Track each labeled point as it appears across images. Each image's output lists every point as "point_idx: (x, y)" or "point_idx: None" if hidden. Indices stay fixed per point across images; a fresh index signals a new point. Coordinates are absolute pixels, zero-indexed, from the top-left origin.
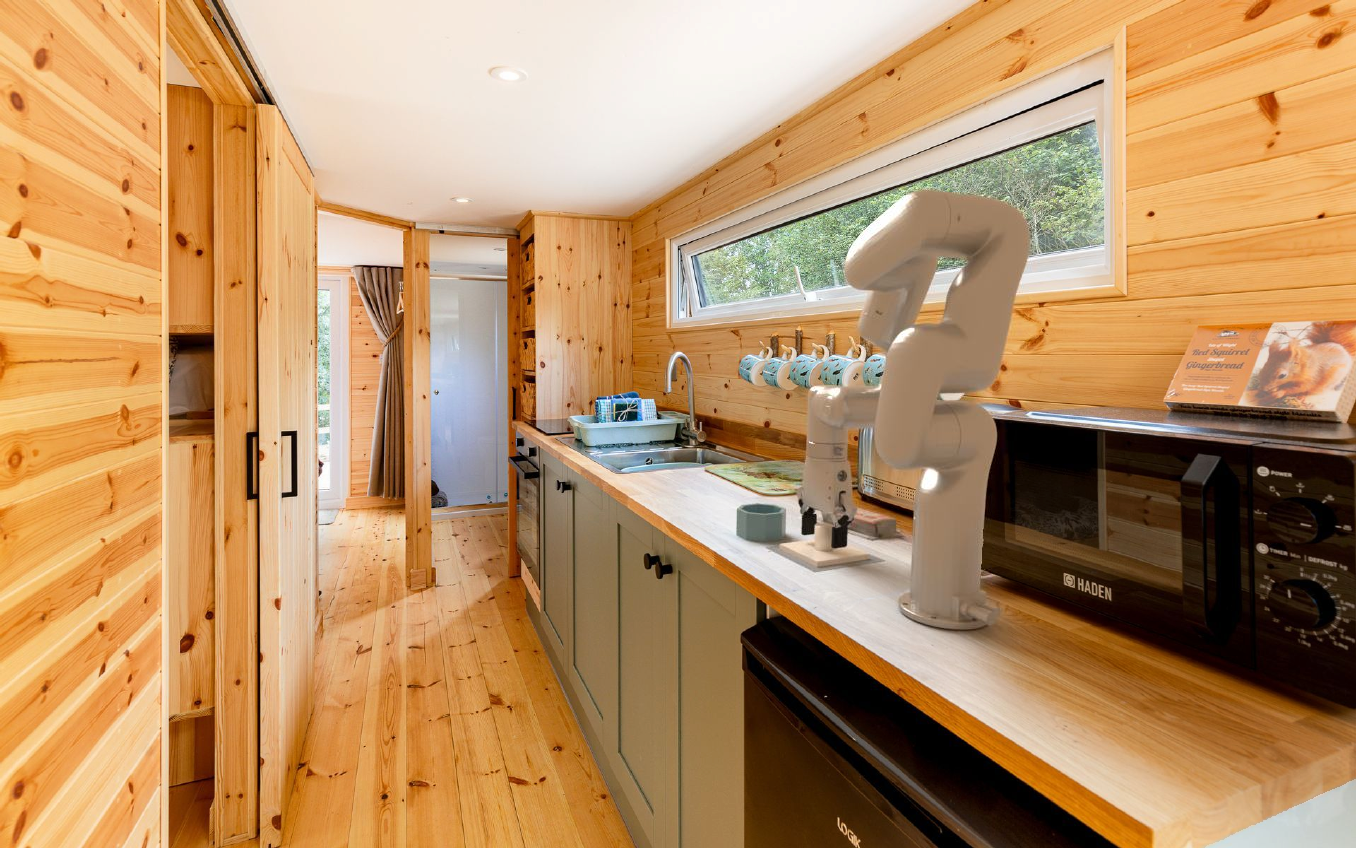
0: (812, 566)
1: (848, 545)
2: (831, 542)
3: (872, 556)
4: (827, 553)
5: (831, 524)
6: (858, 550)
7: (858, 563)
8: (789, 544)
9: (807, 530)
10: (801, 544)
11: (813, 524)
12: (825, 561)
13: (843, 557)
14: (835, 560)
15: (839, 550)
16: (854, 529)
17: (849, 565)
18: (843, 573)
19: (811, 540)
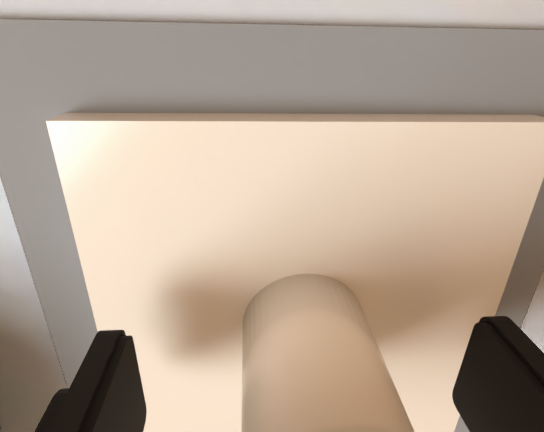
0: None
1: (324, 132)
2: (468, 427)
3: (515, 50)
4: (386, 350)
5: (336, 427)
6: (459, 148)
7: (536, 238)
8: (154, 428)
9: (135, 424)
10: (174, 382)
11: (109, 428)
12: None
13: None
14: None
15: (382, 265)
16: None
17: (520, 295)
18: (539, 348)
19: (106, 295)
